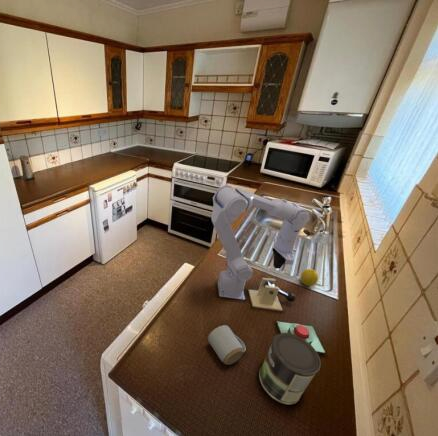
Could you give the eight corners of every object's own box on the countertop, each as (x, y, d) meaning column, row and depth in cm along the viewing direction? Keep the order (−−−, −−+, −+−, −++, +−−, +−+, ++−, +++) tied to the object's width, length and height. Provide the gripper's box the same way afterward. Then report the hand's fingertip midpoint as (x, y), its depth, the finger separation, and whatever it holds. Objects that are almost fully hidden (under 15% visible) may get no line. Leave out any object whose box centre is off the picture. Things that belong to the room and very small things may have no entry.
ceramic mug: (222, 370, 67) (227, 354, 63) (205, 345, 73) (209, 328, 70) (251, 356, 71) (257, 340, 67) (232, 333, 77) (237, 317, 73)
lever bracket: (275, 295, 92) (282, 276, 87) (281, 312, 85) (289, 293, 80) (248, 291, 93) (253, 273, 89) (252, 307, 86) (258, 289, 82)
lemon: (316, 291, 94) (323, 275, 90) (300, 288, 95) (307, 273, 91) (310, 281, 98) (317, 266, 95) (296, 279, 99) (302, 264, 95)
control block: (284, 349, 73) (287, 342, 71) (275, 323, 80) (278, 317, 79) (323, 355, 71) (327, 349, 70) (311, 328, 79) (314, 323, 77)
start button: (296, 337, 73) (298, 334, 72) (292, 327, 76) (294, 323, 75) (309, 339, 73) (311, 336, 72) (304, 329, 76) (306, 325, 75)
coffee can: (257, 392, 62) (271, 361, 55) (260, 357, 70) (273, 326, 63) (302, 413, 58) (324, 382, 51) (299, 374, 66) (318, 342, 60)
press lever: (289, 298, 88) (295, 293, 87) (292, 304, 85) (298, 299, 84) (262, 284, 87) (267, 279, 86) (264, 290, 85) (270, 285, 83)
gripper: (308, 250, 77) (295, 282, 83) (292, 227, 89) (281, 256, 96) (284, 248, 78) (273, 279, 84) (272, 226, 90) (263, 254, 97)
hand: (276, 267), depth 90 cm, fingers closed
